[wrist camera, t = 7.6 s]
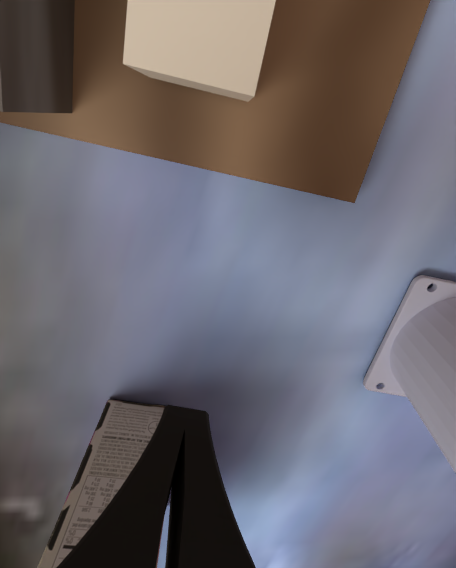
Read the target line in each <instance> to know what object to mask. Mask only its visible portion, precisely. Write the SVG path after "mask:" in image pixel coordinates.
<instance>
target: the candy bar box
mask: <svg viewBox="0 0 456 568" xmlns="http://www.w3.org/2000/svg"><path fill="white" fill-rule="evenodd" d="M164 407H166V406H163V405H151V404H141V403H133V402H127V401H119V400H108V401H107V403H106V405H105V408H104V410H103V413H102V415H101V418H100V420H99V422H98V425H97V427H96V429H95V432H94V434H93V436H92V439H91V441H90V443H89V446H88V448H87V450H86V453H85V455H84V458H83V460H82V462H81V465H80V467H79V470H78V472H77V475H76V477H75V479H74V482H73V484H72V487H71V489H70V492H69V494H68V496H67V499H66V501H65V503H64V506H63V508H62V511H61V513H60V516H59V518H58V520H57V523H56V525H55V528H54V530H53V532H52V535H51V537H50V539H49V542H48V544H47V546H46V549H45V551H44V553H43V556H42V558H41V561H40V563H39V565H38V568H56V567H57V566H58V565H59V564H60V563H61V562H62V561H63V560H64V559H65V557H66V556H67V555H68V554H69V553H70V552H71V550H72V549H73V548H74V547H75V546H76V545H77V543H78V542H79V541H80V540H81V538H82V537H83V536H84V535H85V534H86V532H87V531H88V530H89V529H90V527H91V526H92V525H93V524H94V523H95V521H96V520H97V519H98V517H99V516H100V515H101V513H102V512H103V511H104V510H105V508H106V507H107V506H108V504H109V503H110V502H111V500H112V499H113V497H114V496H115V495H116V493H117V492H118V490H119V489H120V488H121V486H122V485H123V483H124V482H125V480H126V479H127V477H128V476H129V474H130V473H131V471H132V470H133V468H134V467H135V465H136V463H137V462H138V460H139V459H140V457H141V455H142V453H143V452H144V450H145V448H146V447H147V445H148V443H149V441H150V440H151V438H152V436H153V434H154V432H155V430H156V428H157V426H158V423H159V421H160V419H161V416H162V414H163V410H164ZM163 521H164V519H163ZM162 528H163V525H162ZM161 535H162V531H161ZM160 542H161V538H160ZM159 549H160V544H159ZM158 556H159V551H158ZM157 563H158V557H157ZM156 568H157V564H156Z"/></svg>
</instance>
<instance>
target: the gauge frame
mask: <svg viewBox="0 0 456 568" xmlns="http://www.w3.org/2000/svg"><path fill="white" fill-rule="evenodd" d="M127 2H128V0H0V122H1V123H5V124H10V125H14V126H19V127H23V128H27V129H32V130H36V131H41V132H45V133H49V134H54V135H58V136H63V137H67V138H71V139H76V140H80V141H84V142H89V143H93V144H98V145H102V146H106V147H111V148H115V149H120V150H124V151H128V152H133V153H137V154H141V155H146V156H150V157H155V158H159V159H163V160H168V161H172V162H177V163H181V164H185V165H190V166H194V167H199V168H203V169H207V170H212V171H216V172H220V173H225V174H229V175H234V176H238V177H242V178H247V179H251V180H256V181H260V182H264V183H269V184H273V185H277V186H282V187H286V188H291V189H295V190H299V191H304V192H308V193H313V194H317V195H321V196H326V197H330V198H335V199H339V200H343V201H348V202H352V203H355V200H356V198H357V195H358V192H359V190H360V187H361V184H362V182H363V179H364V176H365V174H366V171H367V168H368V166H369V163H370V160H371V158H372V155H373V152H374V150H375V147H376V144H377V142H378V139H379V136H380V134H381V131H382V128H383V126H384V123H385V120H386V118H387V115H388V112H389V110H390V107H391V104H392V102H393V99H394V96H395V94H396V91H397V88H398V86H399V83H400V80H401V78H402V75H403V72H404V70H405V67H406V64H407V61H408V59H409V56H410V53H411V51H412V48H413V45H414V43H415V40H416V37H417V35H418V32H419V29H420V27H421V24H422V21H423V19H424V16H425V13H426V11H427V8H428V5H429V3H430V0H276V2H275V6H274V11H273V15H272V20H271V24H270V29H269V33H268V38H267V42H266V47H265V51H264V56H263V60H262V65H261V69H260V74H259V78H258V83H257V87H256V92H255V96H254V97H253V98H252V99H251V100H250V101H249V102H247V101H243V100H239V99H235V98H231V97H227V96H223V95H219V94H215V93H211V92H206V91H202V90H198V89H194V88H190V87H186V86H182V85H178V84H174V83H170V82H166V81H162V80H158V79H154V78H150V77H148V76H146V75H144V74H142V73H140V72H138V71H136V70H134V69H132V68H130V67H128V66H126V65H124V64H123V54H124V41H125V28H126V15H127Z"/></svg>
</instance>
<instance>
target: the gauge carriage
mask: <svg viewBox="0 0 456 568" xmlns="http://www.w3.org/2000/svg"><path fill="white" fill-rule="evenodd" d="M275 2H276V0H128V2H127V15H126V28H125V41H124V54H123V64H124V65H126V66H128V67H130V68H132V69H134V70H136V71H138V72H140V73H142V74H144V75H146V76H148V77H150V78H154V79H158V80H162V81H166V82H170V83H174V84H178V85H182V86H186V87H190V88H194V89H198V90H202V91H206V92H211V93H215V94H219V95H223V96H227V97H231V98H235V99H239V100H243V101H247V102H249V101H250V100H251V99H252V98H253V97H254V96H255V92H256V87H257V83H258V78H259V74H260V69H261V65H262V60H263V56H264V51H265V47H266V42H267V38H268V33H269V29H270V24H271V20H272V15H273V11H274V6H275Z"/></svg>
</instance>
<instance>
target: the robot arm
mask: <svg viewBox="0 0 456 568" xmlns="http://www.w3.org/2000/svg"><path fill="white" fill-rule="evenodd" d="M430 284H433V286H432V287H431V288H430V289H427V287H428V286H429V285H430ZM379 383H381V384H380V385H377V384H379ZM363 384H364V386H365V388H366V389H367V390H371V391H376V392H382V393H387V394H393V395H399V396H404V397H408V399H409V401H410V402H411V404H412V405H413V407H414V408H415V410H416V412H417V413H418V415H419V416H420V418H421V420H422V421H423V423H424V424H425V426H426V427H427V429H428V431H429V432H430V434H431V435H432V437H433V438H434V440H435V442H436V443H437V445H438V446H439V448H440V449H441V451H442V453H443V454H444V456H445V457H446V459H447V460H448V462H449V464H450V465H451V467H452V468H453V470H454V471H455V473H456V282H454V281H449V280H445V279H440V278H435V277H430V276H426V275H420V276H417V277H416V278H414V279H413V281H412V282H411V284H410V286H409V288H408V290H407V292H406V294H405V296H404V298H403V301H402V303H401V305H400V307H399V309H398V311H397V313H396V315H395V317H394V319H393V321H392V323H391V325H390V327H389V329H388V331H387V333H386V335H385V337H384V339H383V341H382V343H381V345H380V347H379V349H378V351H377V353H376V355H375V357H374V359H373V361H372V363H371V365H370V367H369V369H368V371H367V374H366V376H365V378H364V380H363ZM171 487H172V490H171ZM170 491H171V502H170V515H169V527H168V540H167V553H166V566H165V568H256V567H255V565H254V563H253V560H252V558H251V556H250V554H249V551H248V549H247V547H246V544H245V542H244V540H243V537H242V535H241V532H240V530H239V527H238V525H237V522H236V519H235V517H234V514H233V511H232V509H231V506H230V503H229V500H228V497H227V494H226V491H225V488H224V484H223V481H222V478H221V474H220V470H219V467H218V463H217V460H216V455H215V451H214V447H213V442H212V437H211V431H210V424H209V414H208V413H207V412H206V411H201V410H195V409H189V408H183V407H177V406H171V405H168V406H166V407H164V410H163V414H162V416H161V419H160V421H159V423H158V426H157V428H156V430H155V432H154V434H153V436H152V438H151V440H150V441H149V443H148V445H147V447H146V448H145V450H144V452H143V453H142V455H141V457H140V459H139V460H138V462H137V463H136V465H135V467H134V468H133V470H132V471H131V473H130V474H129V476H128V477H127V479H126V480H125V482H124V483H123V485H122V486H121V488H120V489H119V490H118V492H117V493H116V495H115V496H114V497H113V499H112V500H111V502H110V503H109V504H108V506H107V507H106V508H105V510H104V511H103V512H102V513H101V515H100V516H99V517H98V519H97V520H96V521H95V523H94V524H93V525H92V526H91V527H90V529H89V530H88V531H87V532H86V534H85V535H84V536H83V537H82V538H81V540H80V541H79V542H78V543H77V545H76V546H75V547H74V548H73V549H72V550H71V552H70V553H69V554H68V555H67V556H66V557H65V559H64V560H63V561H62V562H61V563H60V564H59V565H58V566H57V567H56V568H156V564H157V557H158V551H159V544H160V538H161V531H162V525H163V519H164V515H165V511H166V507H167V503H168V499H169V495H170Z"/></svg>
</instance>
